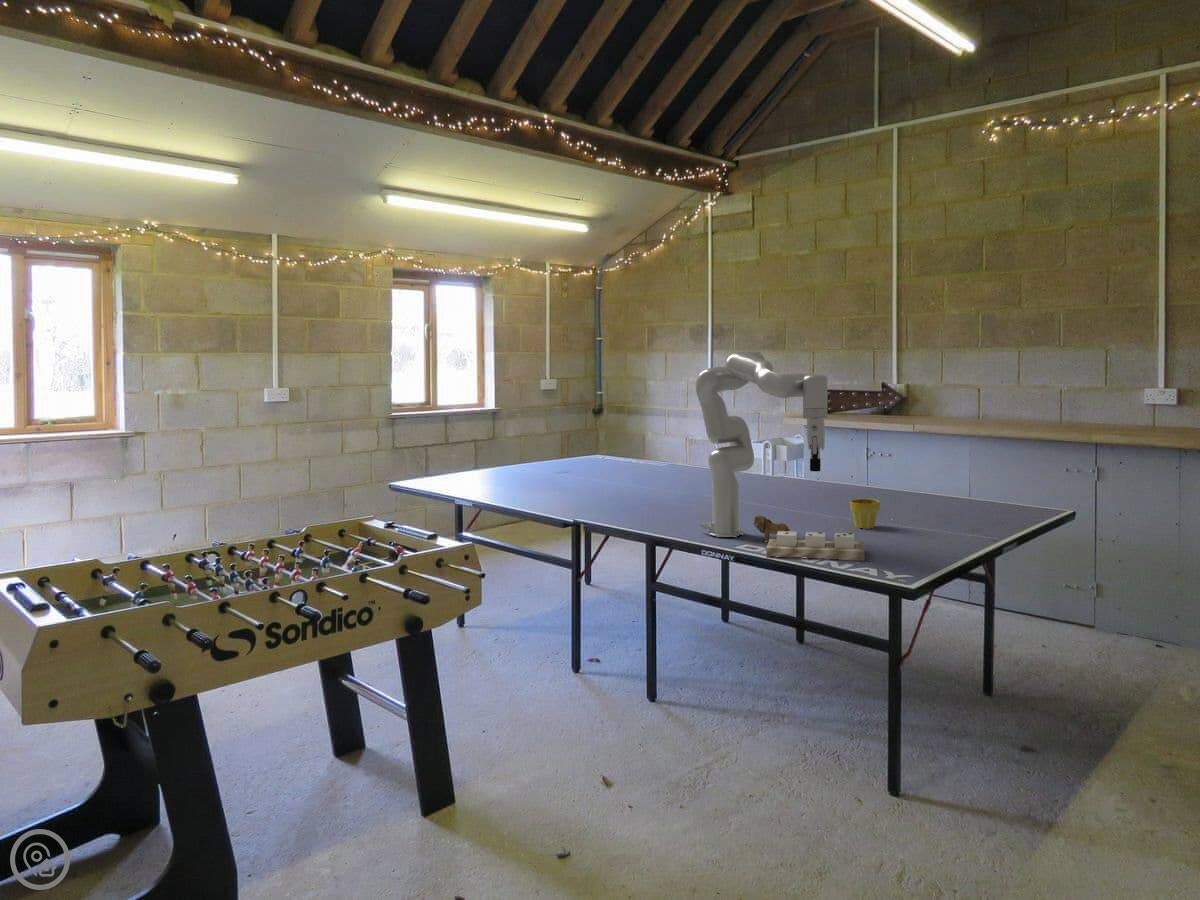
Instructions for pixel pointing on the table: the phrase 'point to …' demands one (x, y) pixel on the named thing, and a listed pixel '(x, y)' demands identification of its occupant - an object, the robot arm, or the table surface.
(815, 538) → the tile two
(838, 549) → the board
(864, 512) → the plant pot
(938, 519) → the table surface
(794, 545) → the tile one
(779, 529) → the lion figurine
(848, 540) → the tile three
